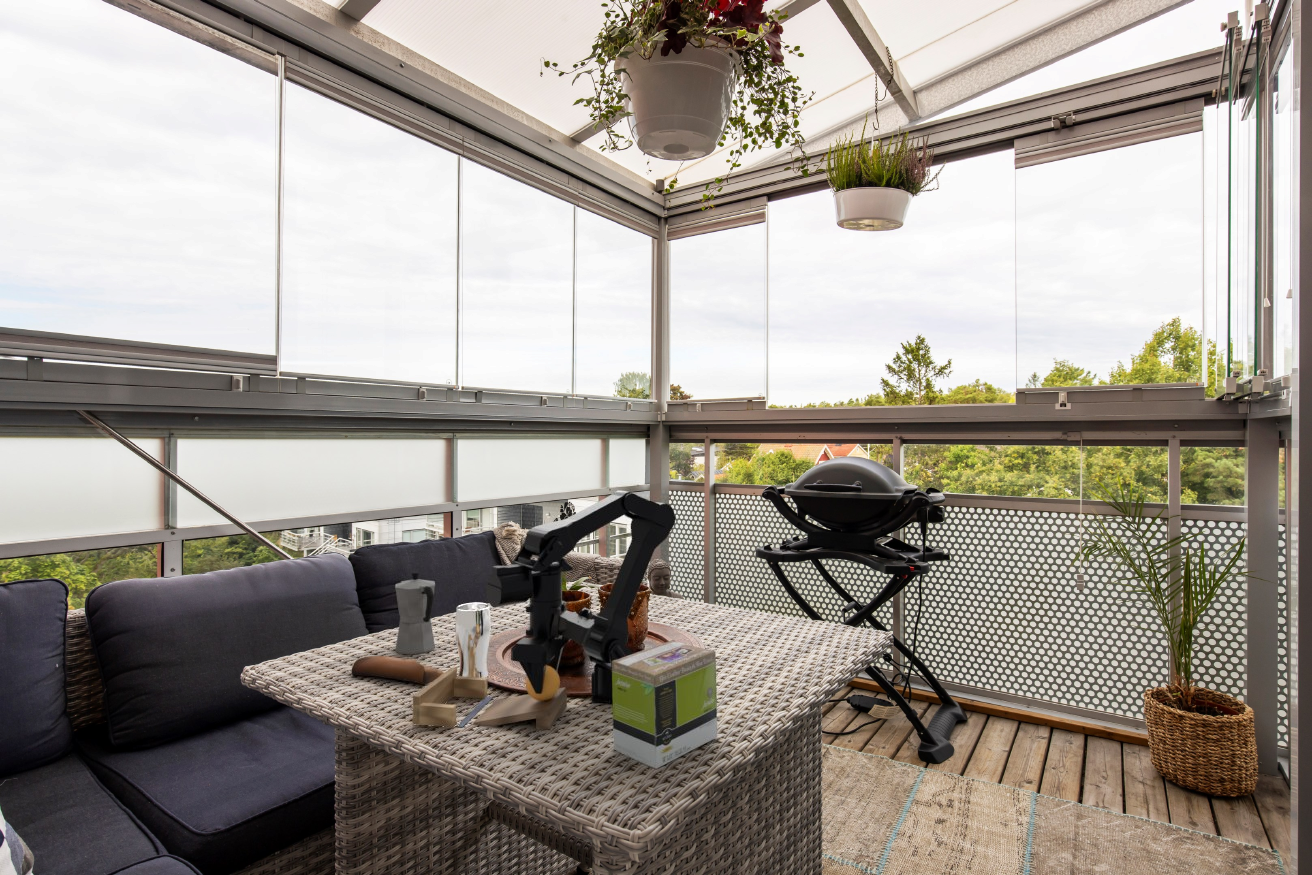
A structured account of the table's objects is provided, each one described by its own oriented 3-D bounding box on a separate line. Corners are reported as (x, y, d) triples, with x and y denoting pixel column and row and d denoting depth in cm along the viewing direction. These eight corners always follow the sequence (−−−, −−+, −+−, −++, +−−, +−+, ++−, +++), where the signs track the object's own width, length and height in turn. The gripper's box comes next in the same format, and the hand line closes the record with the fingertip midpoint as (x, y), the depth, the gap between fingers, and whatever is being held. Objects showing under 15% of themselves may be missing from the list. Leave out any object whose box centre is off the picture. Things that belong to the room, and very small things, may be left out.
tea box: (673, 721, 121) (674, 637, 121) (718, 739, 114) (719, 650, 114) (610, 750, 111) (610, 658, 110) (655, 771, 104) (656, 673, 103)
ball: (535, 694, 127) (530, 662, 127) (566, 691, 126) (561, 658, 126) (524, 708, 121) (518, 674, 121) (556, 704, 120) (550, 669, 120)
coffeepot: (384, 646, 163) (384, 569, 163) (422, 637, 169) (422, 564, 169) (411, 662, 152) (411, 580, 151) (451, 653, 158) (451, 574, 158)
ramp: (567, 711, 128) (567, 687, 128) (549, 735, 118) (549, 708, 118) (495, 706, 130) (495, 682, 130) (473, 729, 120) (473, 703, 120)
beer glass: (481, 687, 137) (481, 611, 137) (449, 684, 139) (449, 609, 138) (496, 674, 144) (496, 603, 144) (465, 672, 145) (465, 601, 145)
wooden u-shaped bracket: (494, 696, 132) (494, 670, 132) (460, 728, 118) (460, 699, 118) (451, 693, 134) (451, 667, 134) (412, 724, 120) (412, 696, 120)
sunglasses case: (449, 671, 146) (439, 649, 142) (431, 699, 140) (420, 677, 136) (378, 662, 151) (367, 641, 148) (358, 689, 145) (346, 667, 142)
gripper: (574, 614, 112) (574, 709, 112) (602, 588, 131) (602, 670, 131) (509, 610, 114) (509, 704, 114) (546, 585, 133) (546, 666, 133)
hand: (545, 685), depth 123 cm, fingers open, 7 cm apart
